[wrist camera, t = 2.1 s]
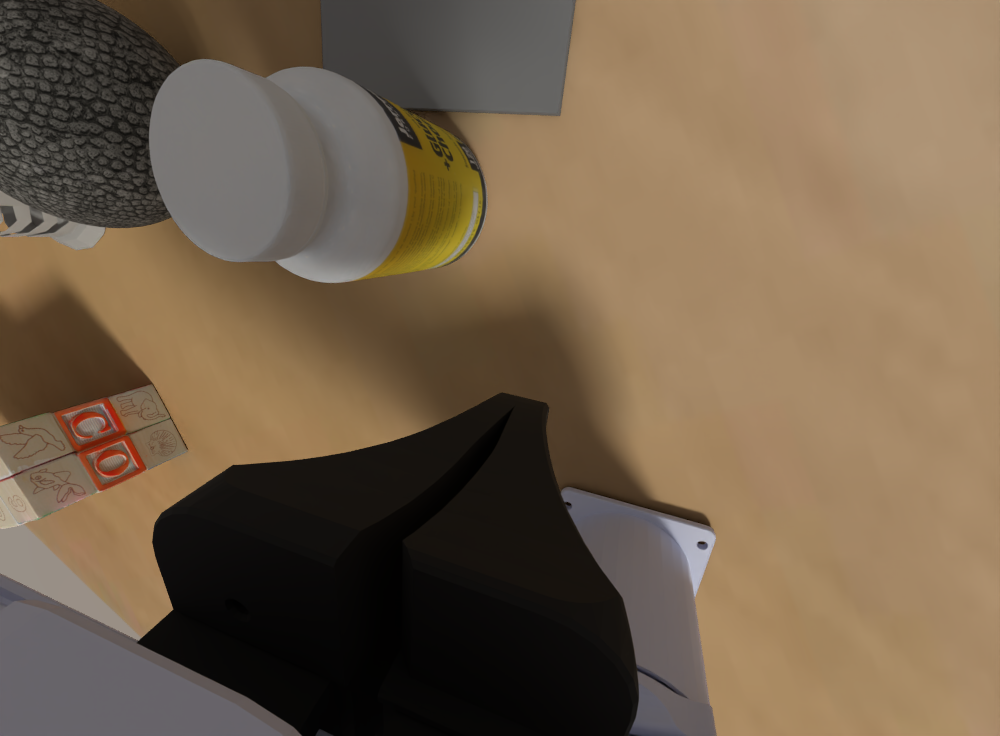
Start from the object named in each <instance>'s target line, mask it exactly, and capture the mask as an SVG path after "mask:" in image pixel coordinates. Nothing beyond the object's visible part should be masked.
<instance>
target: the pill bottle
mask: <svg viewBox="0 0 1000 736" xmlns="http://www.w3.org/2000/svg"><path fill="white" fill-rule="evenodd" d="M149 149H150V159H151V165H152V169H153V174H154V177H155V181H156V184H157V186H158V189H159V192H160V194H161V197H162V199H163V201H164V203H165V206H166V208H167V210H168V211H169V213H170V214H171V216H172V218H173V220H174V221H175V223H176V224H177V225H178V227H179V228H180V229H181V230H182V231H183V233H184V234H185V235H186V236H187V237H188V238H189V239H190V240H191V241H192V242H193V243H194V244H195V245H197V246H198V247H199V248H201V249H202V250H204V251H205V252H207V253H208V254H210V255H212V256H215V257H217V258H219V259H223V260H226V261H232V262H259V261H260V262H268V261H275V262H276V263H278V264H279V265H280V266H282V267H283V268H285V269H287V270H288V271H290V272H292V273H294V274H295V275H298V276H300V277H303V278H306V279H308V280H312V281H317V282H324V283H341V282H350V281H357V280H363V279H370V278H376V277H383V276H390V275H396V274H403V273H409V272H415V271H420V270H426V269H433V268H438V267H442V266H446V265H448V264H451V263H453V262H455V261H456V260H458V259H460V258H461V257H462V256H464V255H465V254H466V253H467V252H468V251H469V250H470V249H471V247H472V246H473V245H474V244H475V242H476V241H477V239H478V237H479V235H480V233H481V231H482V228H483V226H484V222H485V218H486V214H487V203H488V199H487V187H486V182H485V178H484V175H483V172H482V170H481V167H480V165H479V163H478V161H477V159H476V158H475V156H474V155H473V153H472V152H471V150H470V149H469V148H468V147H467V146H466V145H465V144H464V143H463V142H462V141H461V140H460V139H459V138H457V137H456V136H454V135H453V134H451V133H450V132H448V131H446V130H444V129H442V128H440V127H438V126H436V125H434V124H432V123H430V122H429V121H427V120H425V119H423V118H421V117H419V116H417V115H415V114H413V113H411V112H409V111H407V110H406V109H404V108H402V107H400V106H398V105H396V104H394V103H393V102H391V101H389V100H387V99H385V98H383V97H381V96H379V95H377V94H375V93H374V92H372V91H370V90H368V89H366V88H364V87H363V86H361V85H359V84H357V83H355V82H353V81H351V80H349V79H347V78H345V77H343V76H341V75H339V74H337V73H334V72H331V71H328V70H325V69H321V68H316V67H293V68H288V69H283V70H281V71H278V72H276V73H274V74H272V75H270V76H268V77H266V78H264V77H261V76H259V75H256V74H254V73H251V72H248V71H246V70H243V69H241V68H239V67H236V66H234V65H231V64H228V63H225V62H222V61H217V60H212V59H199V60H193V61H190V62H188V63H185V64H183V65H181V66H180V67H179V68H177V69H176V70H175V71H173V72H172V73H171V74H170V75H169V76H168V77H167V79H166V80H165V81H164V83H163V85H162V86H161V88H160V90H159V92H158V94H157V96H156V98H155V101H154V104H153V108H152V113H151V119H150V128H149Z"/></svg>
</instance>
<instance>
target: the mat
mask: <svg viewBox="0 0 1000 736" xmlns="http://www.w3.org/2000/svg"><path fill="white" fill-rule="evenodd" d="M575 2H576V0H321V26H322V53H323V69H325V70H328V71H331V72H334V73H337V74H339V75H341V76H343V77H345V78H347V79H349V80H351V81H353V82H355V83H357V84H359V85H361V86H363V87H364V88H366V89H368V90H370V91H372V92H374V93H375V94H377V95H379V96H381V97H383V98H385V99H387V100H389V101H391V102H393V103H394V104H396V105H398V106H400V107H402V108H404V109H406V110H422V111H448V112H473V113H499V114H524V115H550V116H560V113H561V106H562V98H563V91H564V83H565V76H566V68H567V61H568V54H569V46H570V39H571V31H572V24H573V16H574V9H575Z"/></svg>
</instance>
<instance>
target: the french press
mask: <svg viewBox="0 0 1000 736" xmlns="http://www.w3.org/2000/svg"><path fill="white" fill-rule="evenodd" d="M2 213H3V216H4V221H5V223H6V225H7V226H8V227H9V228H8V229H7V230H6V231H3V232H0V236H1V237H19V236H28V237H51V238H53V239H54V240H56V241H57V242H59V243H61V244H63V245H66V246H68V247H70V248H73V249H75V250H81V249H87V248H92V247H93V246H94V245H95V244H96V243H97V242H98V240H99V239H100V238H101V237H102V236H103V235H104V231H105V227H97V226H90V225H85V224H80V223H76V222H72V221H68V220H64V219H61V218H58V217H55V216H52V215H50V214H47V213H44V212H42V211H39V210H37V209H34V208H32V207H30V206H28V205H26V204H23V203H22V202H20V201H18V200H16V199H14V198H12V197H10V196H8V195H7V194H5V193H3V192H2V191H0V224H1V223H2V222H3V217H2ZM10 233H17V234H14V235H11V234H10Z"/></svg>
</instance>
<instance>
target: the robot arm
mask: <svg viewBox="0 0 1000 736" xmlns="http://www.w3.org/2000/svg"><path fill="white" fill-rule="evenodd" d="M548 412H549V407H548V405H547V404H546V403H544V402H540V401H535V400H531V399H527V398H523V397H519V396H514V395H510V394H506V393H500V394H497V395H495V396H494V397H492V398H490V399H488V400H486V401H484V402H482V403H481V404H479V405H477V406H475V407H473V408H471V409H469V410H467V411H465V412H463V413H461V414H459V415H457V416H455V417H453V418H451V419H449V420H446V421H444V422H442V423H440V424H437V425H435V426H433V427H431V428H428V429H426V430H423V431H421V432H418V433H415V434H413V435H410V436H407V437H404V438H401V439H397V440H394V441H391V442H388V443H384V444H380V445H376V446H372V447H367V448H363V449H359V450H355V451H351V452H346V453H341V454H335V455H329V456H323V457H316V458H309V459H302V460H293V461H283V462H271V463H258V464H246V465H232V466H231V467H229V468H228V469H226V470H225V471H223V472H222V473H220V474H219V475H217V476H216V477H215V478H213V479H212V480H210V481H209V482H207V483H206V484H204V485H203V486H201V487H200V488H198V489H197V490H195V491H194V492H192V493H191V494H189V495H188V496H186V497H185V498H183V499H182V500H180V501H179V502H177V503H176V504H174V505H173V506H171V507H170V508H168V509H167V510H165V511H164V512H162V513H161V515H160V516H159V518H158V519H157V521H156V522H155V525H154V532H153V541H152V543H153V548H154V552H155V557H156V560H157V563H158V566H159V569H160V572H161V575H162V577H163V580H164V583H165V586H166V589H167V592H168V595H169V598H170V601H171V604H172V606H173V609H174V610H172V611H171V612H170V613H169V614H168V615H167V616H166V617H165V618H164V619H162V620H161V621H160V622H159V623H158V624H157V625H156V626H155V627H153V628H152V629H151V630H150V631H149V632H148V633H147V634H146V635H145V636H143V637H142V638H141V639H140V640H139V641H138V640H136V639H133V638H132V637H130V636H128V635H126V634H124V633H121V632H119V631H117V630H115V629H113V628H111V627H109V626H107V625H105V624H103V623H101V622H99V621H97V620H95V619H93V618H91V617H89V616H87V615H85V614H82V613H80V612H78V611H76V610H74V609H72V608H70V607H68V606H66V605H64V604H62V603H60V602H58V601H55V600H54V599H52V598H50V597H48V596H45V595H43V594H41V593H39V592H37V591H35V590H33V589H31V588H29V587H27V586H25V585H23V584H21V583H19V582H17V581H15V580H13V579H11V578H8V577H6V576H4V575H2V574H0V736H717V735H716V729H715V723H714V716H713V710H712V707H711V706H710V702H709V695H708V688H707V681H706V674H705V668H704V661H703V654H702V647H701V640H700V633H699V626H698V619H697V612H696V605H695V596H696V593H697V590H698V588H699V585H700V582H701V579H702V576H703V574H704V571H705V568H706V565H707V563H708V560H709V557H710V554H711V551H712V549H713V546H714V543H715V540H716V536H715V532H714V530H713V529H712V528H711V527H709V526H707V525H704V524H700V523H696V522H693V521H689V520H686V519H682V518H679V517H675V516H672V515H668V514H664V513H661V512H657V511H654V510H650V509H647V508H643V507H639V506H636V505H632V504H629V503H625V502H622V501H618V500H615V499H611V498H607V497H604V496H600V495H597V494H593V493H590V492H586V491H582V490H579V489H575V488H572V487H566V488H564V489H562V491H561V492H560V490H559V487H558V484H557V481H556V478H555V475H554V471H553V468H552V463H551V459H550V455H549V450H548V443H547V435H546V423H547V418H548ZM565 502H569V503H571V506H568V505H566V504H565ZM699 541H704V542H706V544H703V545H702V544H698V542H699Z"/></svg>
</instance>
